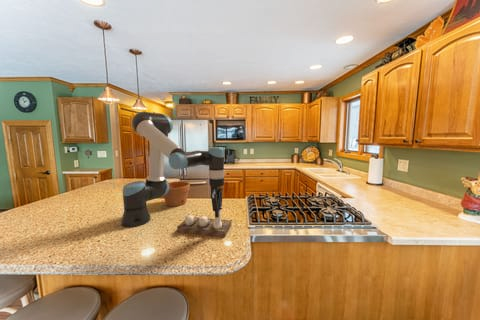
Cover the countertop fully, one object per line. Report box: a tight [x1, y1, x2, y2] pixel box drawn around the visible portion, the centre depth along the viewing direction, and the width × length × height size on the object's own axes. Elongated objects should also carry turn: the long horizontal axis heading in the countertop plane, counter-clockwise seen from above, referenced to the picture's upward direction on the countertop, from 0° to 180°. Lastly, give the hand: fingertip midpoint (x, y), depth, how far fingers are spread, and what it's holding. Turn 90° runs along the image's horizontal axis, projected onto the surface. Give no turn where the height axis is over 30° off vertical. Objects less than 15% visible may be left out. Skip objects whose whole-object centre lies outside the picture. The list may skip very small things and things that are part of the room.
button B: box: [198, 215, 208, 227], centre depth 100 cm, size 4×4×4 cm
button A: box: [184, 214, 195, 226], centre depth 102 cm, size 4×4×4 cm
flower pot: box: [163, 181, 191, 207], centre depth 144 cm, size 21×21×15 cm
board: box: [176, 216, 232, 238], centre depth 103 cm, size 26×13×3 cm, turn 78°
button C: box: [213, 222, 222, 230], centre depth 99 cm, size 4×4×4 cm
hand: (217, 222), depth 98 cm, fingers closed
